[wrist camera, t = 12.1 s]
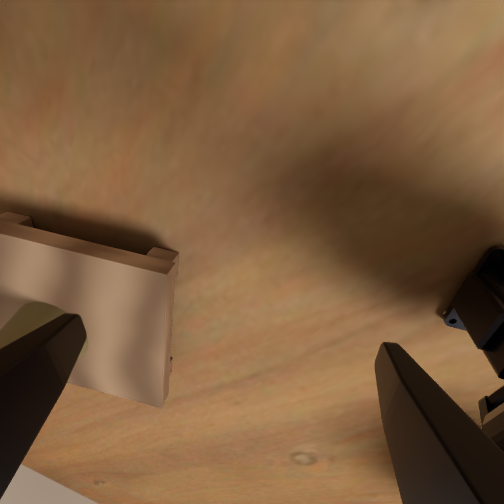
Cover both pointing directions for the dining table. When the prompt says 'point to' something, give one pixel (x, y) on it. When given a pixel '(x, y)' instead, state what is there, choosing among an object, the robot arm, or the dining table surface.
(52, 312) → the olive game pawn
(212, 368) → the dining table surface
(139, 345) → the tan square slab
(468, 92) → the dining table surface
